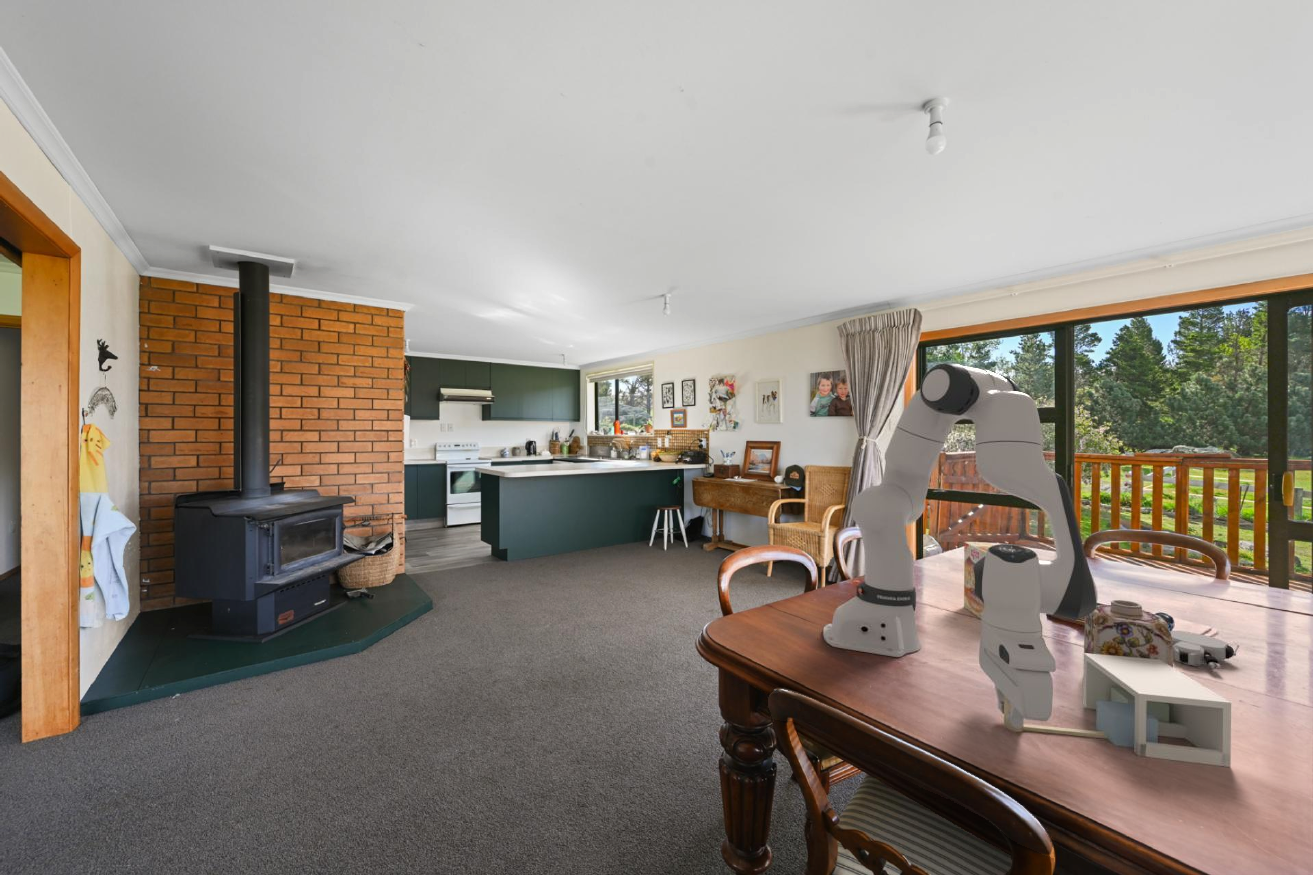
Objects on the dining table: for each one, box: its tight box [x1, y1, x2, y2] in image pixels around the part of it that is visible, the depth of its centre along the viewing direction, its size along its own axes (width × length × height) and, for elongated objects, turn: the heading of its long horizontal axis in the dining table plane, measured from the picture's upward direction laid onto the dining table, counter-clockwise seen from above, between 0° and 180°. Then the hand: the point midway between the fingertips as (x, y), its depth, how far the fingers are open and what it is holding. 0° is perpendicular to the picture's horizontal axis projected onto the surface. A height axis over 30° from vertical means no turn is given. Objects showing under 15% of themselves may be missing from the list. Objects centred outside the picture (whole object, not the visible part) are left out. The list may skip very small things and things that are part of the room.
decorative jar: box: [1083, 599, 1174, 668], centre depth 105 cm, size 12×12×18 cm
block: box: [1111, 687, 1169, 723], centre depth 94 cm, size 6×5×5 cm
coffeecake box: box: [963, 541, 995, 620], centre depth 149 cm, size 15×7×20 cm, turn 172°
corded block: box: [1003, 697, 1159, 748], centre depth 90 cm, size 21×5×5 cm, turn 79°
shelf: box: [1082, 652, 1232, 768], centre depth 91 cm, size 12×16×10 cm
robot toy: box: [1169, 630, 1240, 669], centre depth 121 cm, size 12×4×15 cm
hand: (1010, 718), depth 92 cm, fingers closed on corded block, 3 cm apart
